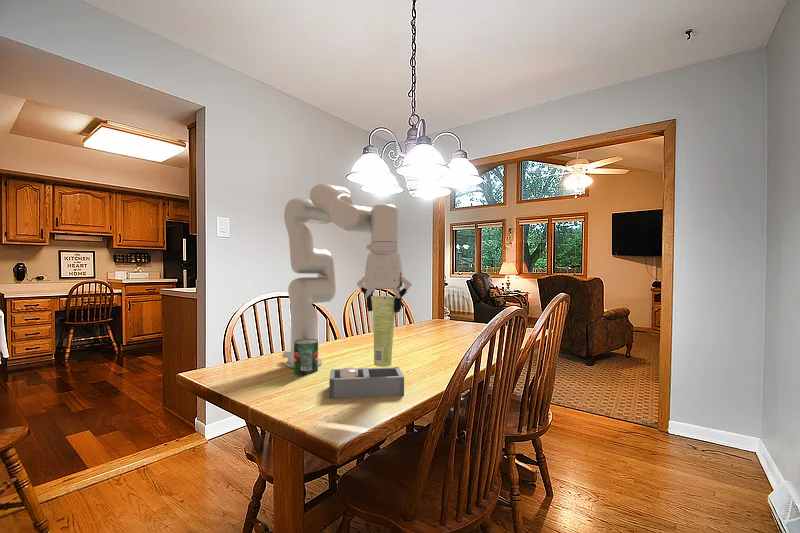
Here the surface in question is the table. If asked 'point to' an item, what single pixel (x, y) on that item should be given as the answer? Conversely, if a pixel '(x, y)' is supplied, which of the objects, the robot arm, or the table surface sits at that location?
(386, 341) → the tube
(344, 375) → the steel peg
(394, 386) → the rack
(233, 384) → the table surface
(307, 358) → the canned tomato
